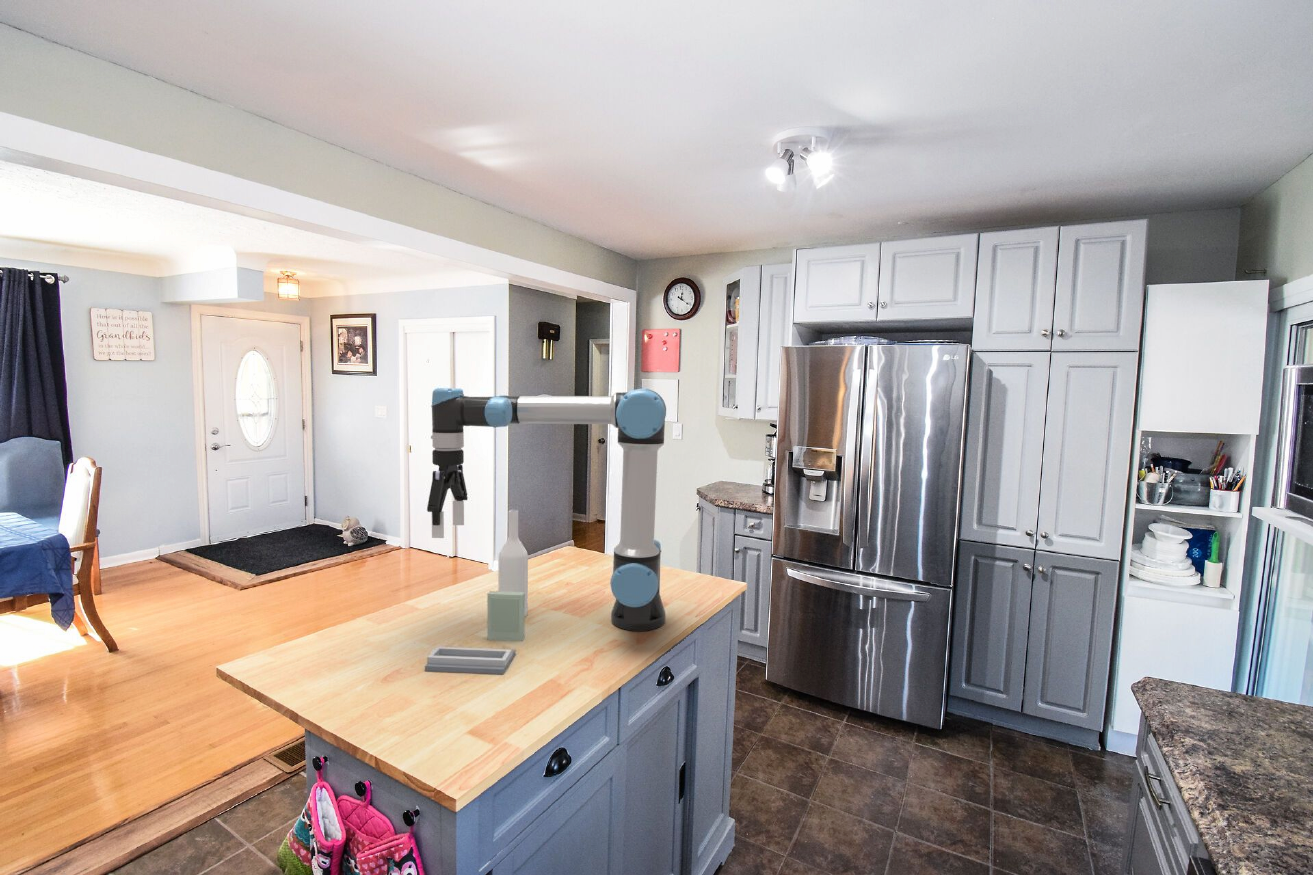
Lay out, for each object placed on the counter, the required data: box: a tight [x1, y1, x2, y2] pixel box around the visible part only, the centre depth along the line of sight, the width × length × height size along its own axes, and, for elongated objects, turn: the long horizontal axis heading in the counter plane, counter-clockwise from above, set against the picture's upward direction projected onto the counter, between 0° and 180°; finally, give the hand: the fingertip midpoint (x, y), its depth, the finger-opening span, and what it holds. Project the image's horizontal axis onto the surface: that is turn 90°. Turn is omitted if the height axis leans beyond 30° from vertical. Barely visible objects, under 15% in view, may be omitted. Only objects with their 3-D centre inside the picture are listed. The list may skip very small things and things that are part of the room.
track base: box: [424, 646, 517, 675], centre depth 140 cm, size 18×10×3 cm, turn 88°
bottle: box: [497, 509, 529, 617], centre depth 169 cm, size 8×8×30 cm
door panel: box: [486, 590, 526, 642], centre depth 153 cm, size 9×2×12 cm, turn 88°
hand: (448, 531), depth 154 cm, fingers open, 13 cm apart
